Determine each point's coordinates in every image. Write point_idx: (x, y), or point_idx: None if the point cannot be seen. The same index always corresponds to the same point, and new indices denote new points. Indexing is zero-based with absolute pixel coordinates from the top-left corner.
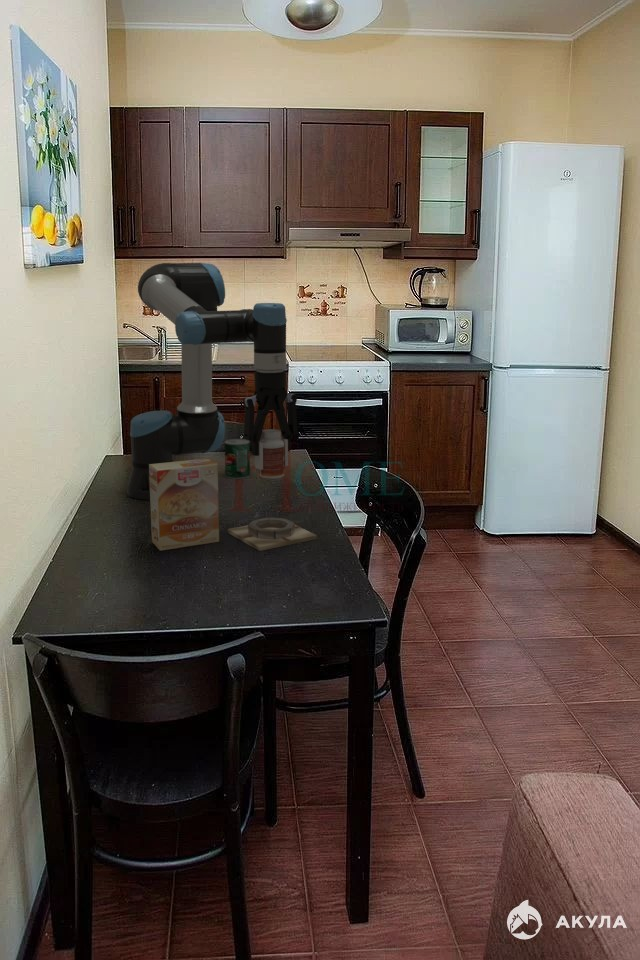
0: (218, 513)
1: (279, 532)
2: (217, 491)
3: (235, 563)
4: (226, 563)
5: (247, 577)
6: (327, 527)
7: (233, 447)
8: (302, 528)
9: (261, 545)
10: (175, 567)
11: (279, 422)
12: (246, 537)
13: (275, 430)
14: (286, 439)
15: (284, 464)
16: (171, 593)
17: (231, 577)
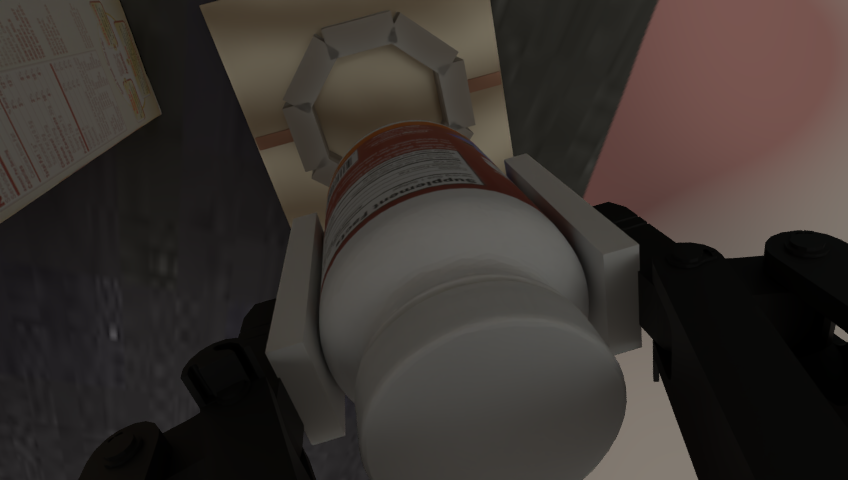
0: (114, 144)
1: None
2: (52, 185)
3: (211, 323)
4: (183, 319)
5: None
6: (606, 70)
7: None
8: (504, 103)
9: None
10: (9, 319)
11: (722, 449)
12: (270, 147)
13: (569, 407)
14: (627, 349)
15: None
16: (29, 468)
17: (192, 406)
